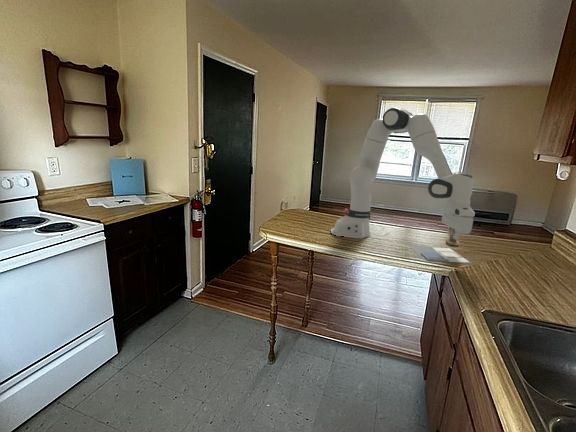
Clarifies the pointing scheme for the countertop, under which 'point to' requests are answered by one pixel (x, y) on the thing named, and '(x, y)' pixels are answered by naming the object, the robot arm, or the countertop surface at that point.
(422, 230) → the countertop surface
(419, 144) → the robot arm
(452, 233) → the stamp
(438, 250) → the stamping board
